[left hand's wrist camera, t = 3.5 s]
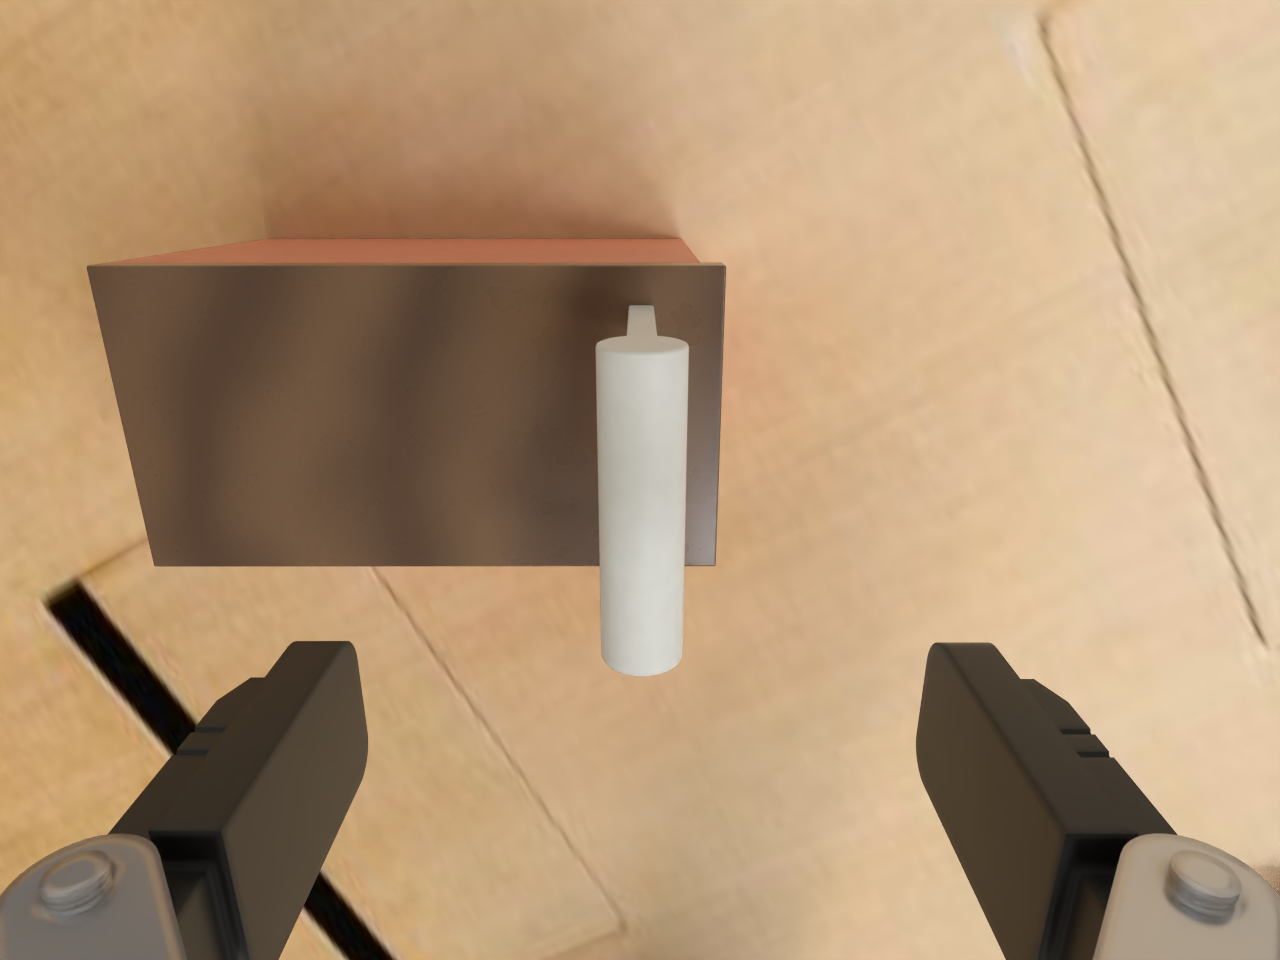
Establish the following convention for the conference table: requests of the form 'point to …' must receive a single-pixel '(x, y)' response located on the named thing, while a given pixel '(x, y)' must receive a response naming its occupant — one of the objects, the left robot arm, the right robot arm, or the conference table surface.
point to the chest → (436, 251)
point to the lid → (430, 420)
